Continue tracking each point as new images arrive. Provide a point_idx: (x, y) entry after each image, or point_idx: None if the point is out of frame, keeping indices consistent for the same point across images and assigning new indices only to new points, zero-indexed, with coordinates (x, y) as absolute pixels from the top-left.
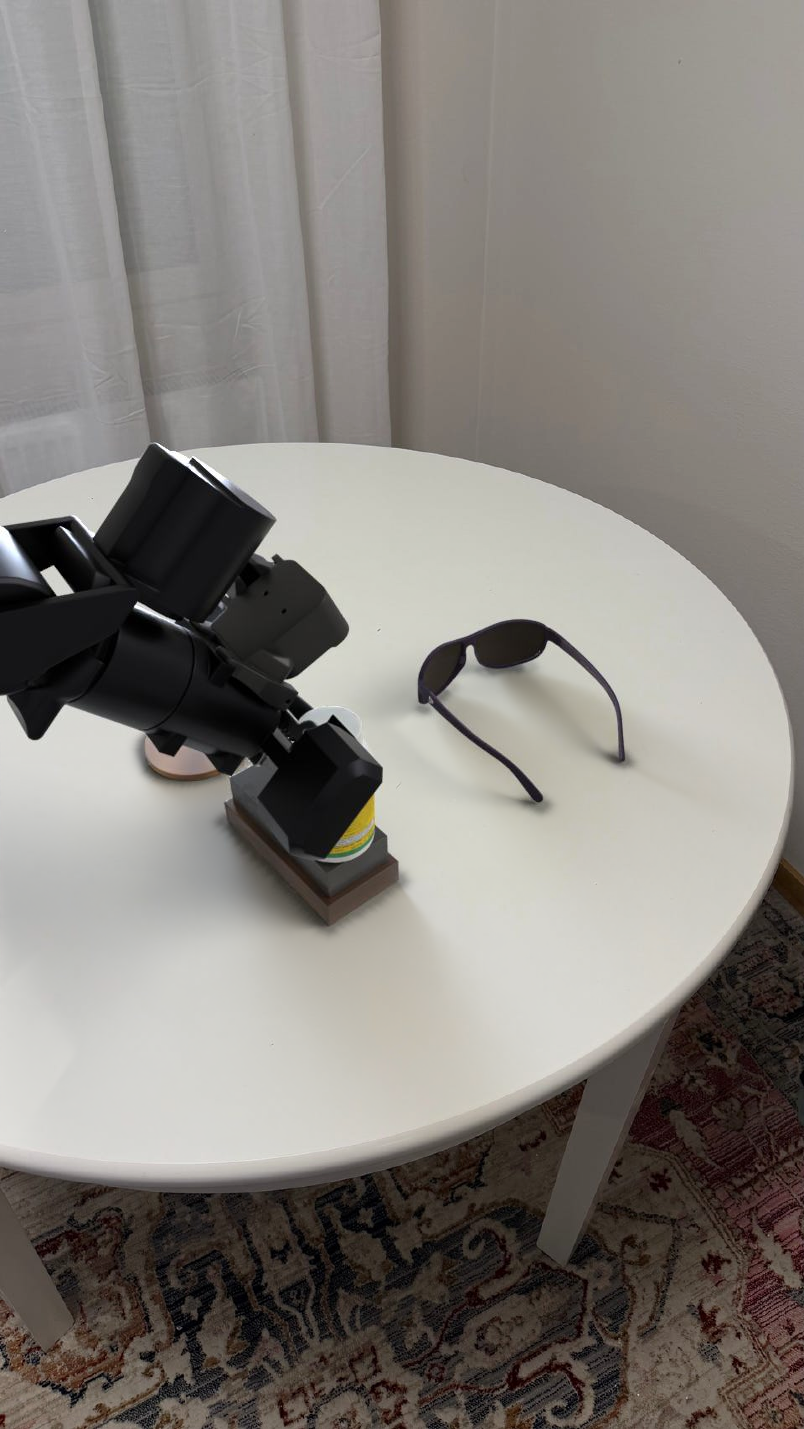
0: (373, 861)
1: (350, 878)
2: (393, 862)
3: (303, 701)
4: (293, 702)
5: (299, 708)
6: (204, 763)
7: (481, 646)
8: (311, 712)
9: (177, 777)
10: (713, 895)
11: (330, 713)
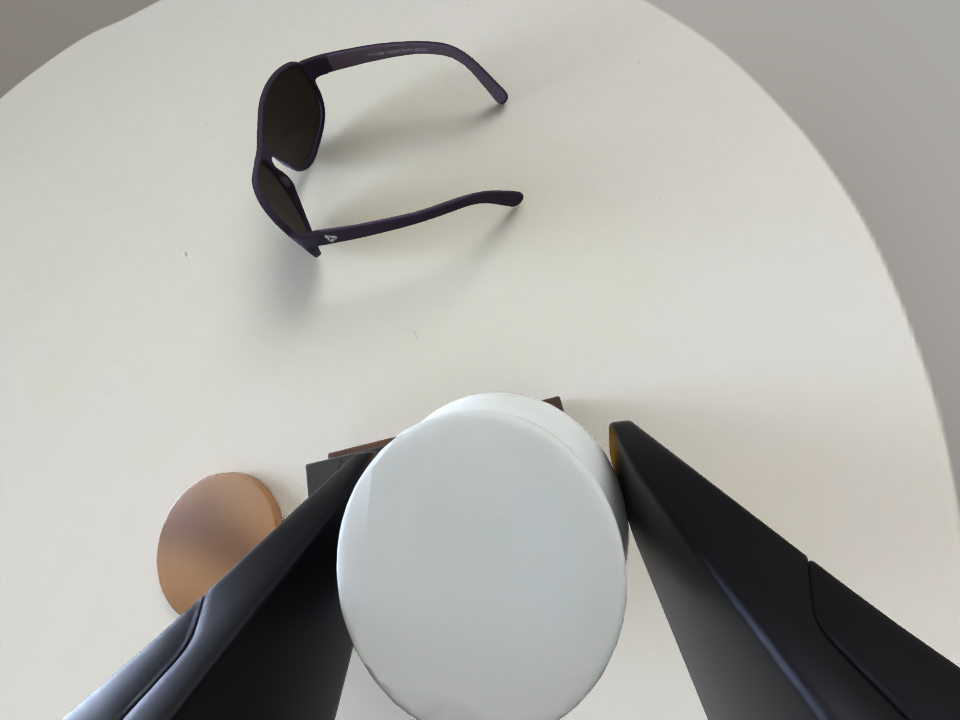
0: None
1: None
2: (558, 403)
3: (275, 579)
4: (259, 641)
5: (295, 593)
6: None
7: (279, 151)
8: (350, 583)
9: None
10: (726, 97)
11: (397, 509)
